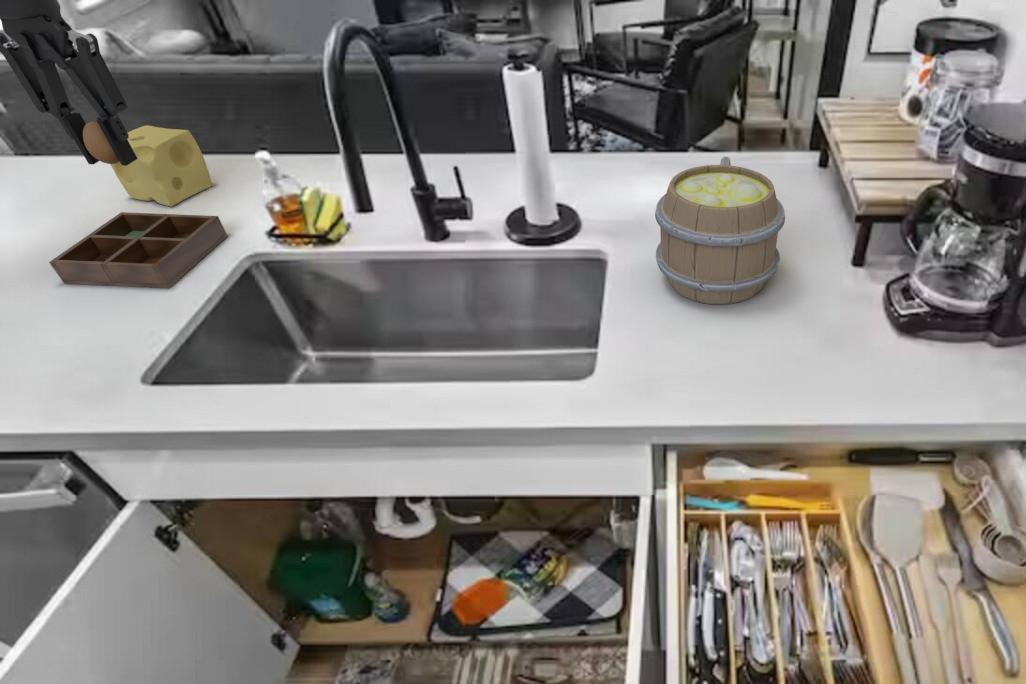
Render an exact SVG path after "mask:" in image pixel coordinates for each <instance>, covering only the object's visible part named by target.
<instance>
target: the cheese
mask: <svg viewBox="0 0 1026 684" xmlns="http://www.w3.org/2000/svg"><path fill="white" fill-rule="evenodd" d="M127 133H128V135H129V138H128V139H127V140H128V142H129V144H130V145H131V147H132V149H133V151H134V153H135V155H136V156H137V158H138V159H136V160H135V161H133V162H132V163H130V164H129V165H127V166H123V165H121V163H120V161H119V162H118V163H115V164H109V165H110V167H111V168H112V170H113V172H114V174H115V175H116V178H117V179H118V181H119V182H120V184H121V185H122V187H123V188H124V190H125V192H126V193H127V195H128V196H129V197H130V198H131V199H135V200H139V201H147V202H149V201H155V202H156V203H157V204H159V205H164V206H167V207H173V206H176V205H177V204H179V203H181V202H182V201H185V200H186V199H187V198H190V197H192V196H194V195H197V194H199V193H201V192H203V191H204V190H207V189H210V188H211V187H213V186H214V185H213V182H212V179H211V176H210V172H209V169H208V166H207V163H206V160H205V158H204V155H203V153H202V150H201V148H200V146H199V145H198V143H197V141H196V139H195V138H194V136H193V134H192V133H191V132H190V130H188V129H177V128H175V129H174V128H164V127H159V126H154V125H148V124H147V125H142V126H139V127H137V128H135V129H132V130H130V131H127Z"/></svg>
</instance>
